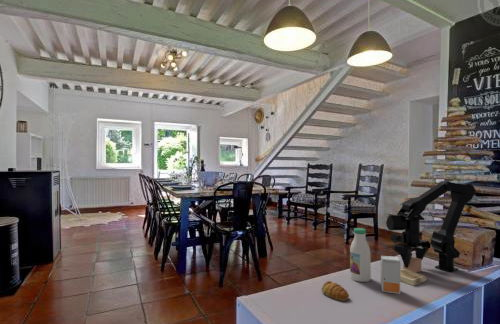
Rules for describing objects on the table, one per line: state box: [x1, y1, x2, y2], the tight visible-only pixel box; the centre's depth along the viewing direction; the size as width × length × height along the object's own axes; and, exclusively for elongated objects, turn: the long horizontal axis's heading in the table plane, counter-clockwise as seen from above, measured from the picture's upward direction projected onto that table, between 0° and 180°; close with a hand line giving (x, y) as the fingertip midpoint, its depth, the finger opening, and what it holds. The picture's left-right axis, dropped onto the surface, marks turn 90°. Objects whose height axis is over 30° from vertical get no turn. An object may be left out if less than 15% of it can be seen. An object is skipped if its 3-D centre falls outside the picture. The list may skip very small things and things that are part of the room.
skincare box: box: [380, 255, 401, 295], centre depth 101 cm, size 6×4×12 cm
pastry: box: [321, 280, 350, 302], centre depth 97 cm, size 9×7×4 cm
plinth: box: [400, 268, 427, 286], centre depth 111 cm, size 9×9×2 cm
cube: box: [402, 256, 422, 273], centre depth 122 cm, size 5×5×5 cm
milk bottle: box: [349, 227, 372, 283], centre depth 112 cm, size 8×8×20 cm
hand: (412, 265), depth 122 cm, fingers open, 9 cm apart
